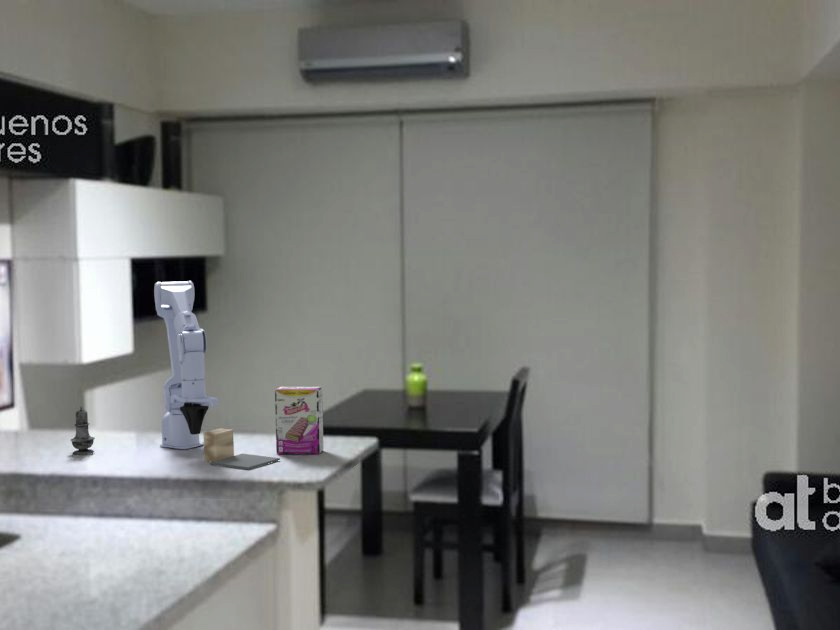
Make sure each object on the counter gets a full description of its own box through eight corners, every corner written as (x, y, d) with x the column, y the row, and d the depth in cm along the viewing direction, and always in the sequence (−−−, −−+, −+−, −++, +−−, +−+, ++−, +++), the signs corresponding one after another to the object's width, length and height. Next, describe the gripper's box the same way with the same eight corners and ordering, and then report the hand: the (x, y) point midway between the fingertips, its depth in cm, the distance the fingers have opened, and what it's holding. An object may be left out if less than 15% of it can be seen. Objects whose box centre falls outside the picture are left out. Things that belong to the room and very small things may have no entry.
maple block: (204, 461, 229) (203, 432, 228) (222, 456, 234) (221, 428, 233) (216, 462, 226) (215, 433, 226) (234, 458, 231) (233, 429, 231)
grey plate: (210, 464, 224) (210, 462, 224) (242, 455, 233) (242, 453, 233) (248, 469, 218) (248, 467, 218) (279, 460, 227) (279, 458, 227)
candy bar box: (275, 454, 234) (273, 389, 233) (280, 450, 239) (278, 386, 238) (320, 454, 233) (318, 388, 232) (324, 450, 238) (322, 385, 237)
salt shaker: (99, 452, 242) (97, 405, 241) (77, 456, 238) (75, 408, 237) (88, 449, 246) (86, 403, 245) (66, 453, 242) (64, 406, 241)
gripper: (160, 379, 234) (162, 434, 234) (202, 382, 226) (204, 439, 227) (181, 376, 239) (183, 429, 240) (223, 379, 232) (225, 434, 232)
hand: (195, 433), depth 234 cm, fingers closed
